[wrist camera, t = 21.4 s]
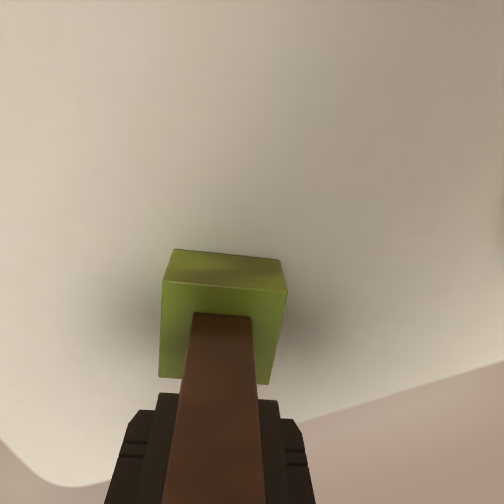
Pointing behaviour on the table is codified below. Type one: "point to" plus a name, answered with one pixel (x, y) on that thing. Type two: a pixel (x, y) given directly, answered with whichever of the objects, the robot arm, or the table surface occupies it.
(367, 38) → the table surface
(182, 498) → the green-headed mallet
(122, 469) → the robot arm
